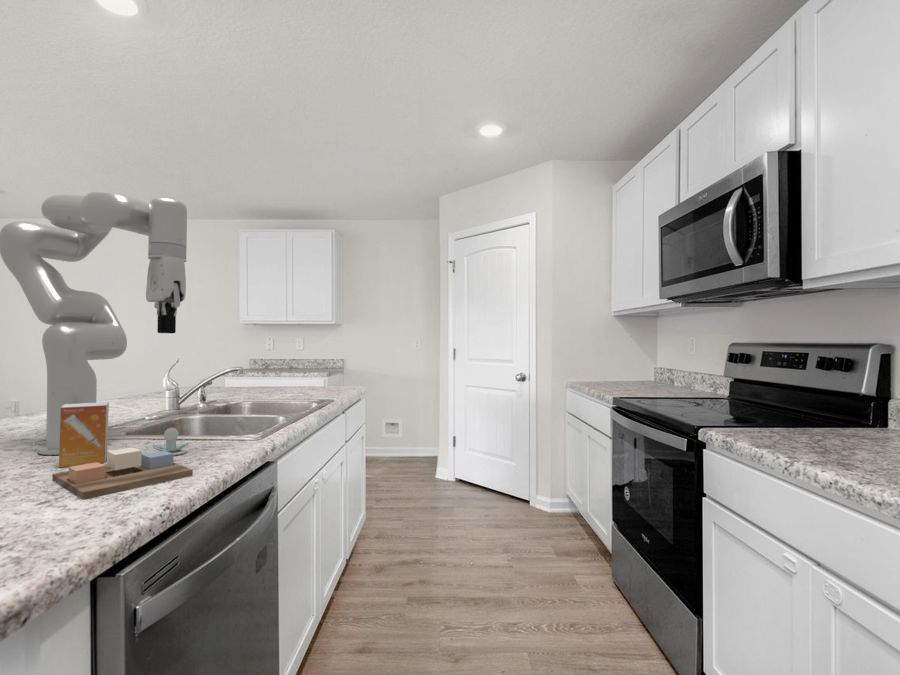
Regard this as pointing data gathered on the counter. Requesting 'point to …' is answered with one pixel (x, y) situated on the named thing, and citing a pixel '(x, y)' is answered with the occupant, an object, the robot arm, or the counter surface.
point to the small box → (83, 433)
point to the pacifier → (171, 443)
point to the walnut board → (122, 479)
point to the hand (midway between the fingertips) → (166, 332)
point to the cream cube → (123, 458)
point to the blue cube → (157, 460)
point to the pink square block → (86, 473)
